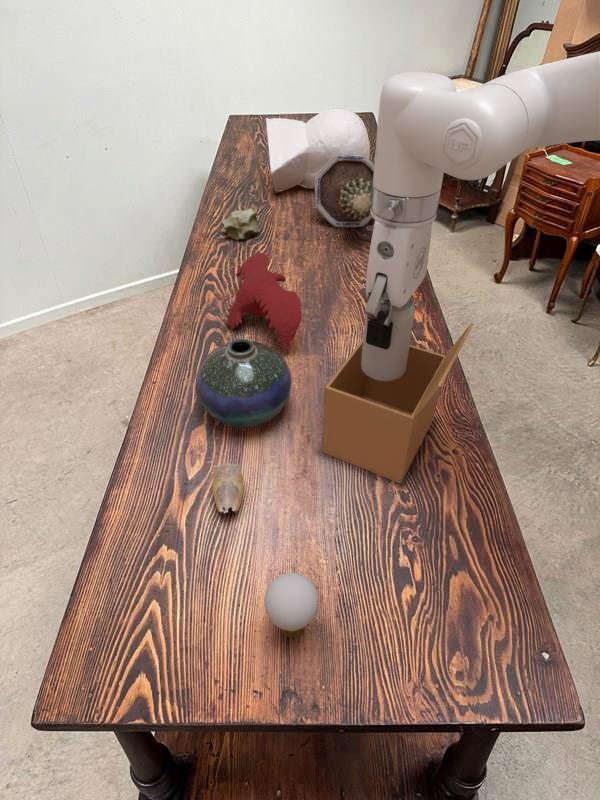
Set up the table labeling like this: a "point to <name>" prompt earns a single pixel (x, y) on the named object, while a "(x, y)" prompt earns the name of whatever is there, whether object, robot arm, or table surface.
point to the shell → (228, 487)
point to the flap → (443, 370)
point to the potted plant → (345, 190)
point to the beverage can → (393, 359)
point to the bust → (312, 145)
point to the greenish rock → (241, 224)
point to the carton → (379, 414)
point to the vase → (243, 383)
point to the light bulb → (291, 603)
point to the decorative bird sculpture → (265, 299)
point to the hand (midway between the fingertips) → (388, 330)
